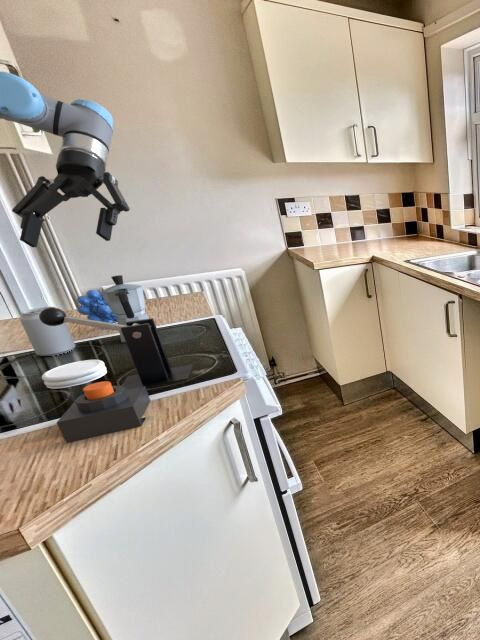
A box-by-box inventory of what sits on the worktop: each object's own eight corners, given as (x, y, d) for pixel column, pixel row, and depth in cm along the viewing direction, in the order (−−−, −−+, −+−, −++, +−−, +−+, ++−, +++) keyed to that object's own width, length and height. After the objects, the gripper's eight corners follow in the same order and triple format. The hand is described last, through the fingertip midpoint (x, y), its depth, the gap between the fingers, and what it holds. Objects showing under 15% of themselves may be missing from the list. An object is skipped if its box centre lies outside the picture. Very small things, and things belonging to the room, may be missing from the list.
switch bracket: (118, 397, 86) (92, 334, 81) (130, 380, 94) (106, 322, 89) (189, 383, 92) (168, 323, 87) (194, 368, 99) (176, 312, 94)
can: (40, 352, 112) (19, 309, 108) (78, 345, 117) (60, 303, 112) (35, 360, 107) (13, 315, 102) (75, 352, 111) (56, 309, 107)
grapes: (86, 334, 125) (69, 295, 121) (86, 329, 130) (70, 291, 125) (136, 324, 133) (122, 287, 128) (135, 320, 137) (121, 284, 133)
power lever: (34, 326, 79) (37, 308, 78) (42, 321, 82) (45, 303, 81) (145, 342, 88) (148, 326, 87) (149, 337, 91) (152, 322, 90)
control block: (66, 443, 71) (51, 412, 69) (85, 419, 78) (72, 390, 76) (141, 426, 75) (129, 397, 73) (152, 405, 83) (141, 377, 81)
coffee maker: (119, 335, 123) (95, 275, 117) (157, 328, 128) (136, 270, 122) (119, 349, 113) (93, 283, 106) (160, 340, 118) (138, 277, 111)
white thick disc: (105, 368, 100) (99, 355, 99) (112, 380, 94) (106, 366, 93) (45, 384, 93) (38, 369, 92) (49, 397, 87) (42, 382, 86)
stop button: (84, 402, 73) (79, 392, 72) (91, 394, 76) (86, 384, 75) (111, 397, 74) (106, 387, 74) (117, 389, 77) (112, 379, 76)
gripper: (155, 169, 100) (145, 244, 93) (34, 177, 96) (14, 256, 89) (132, 144, 93) (119, 223, 86) (1, 151, 89) (-24, 235, 82)
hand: (66, 240), depth 87 cm, fingers open, 13 cm apart
